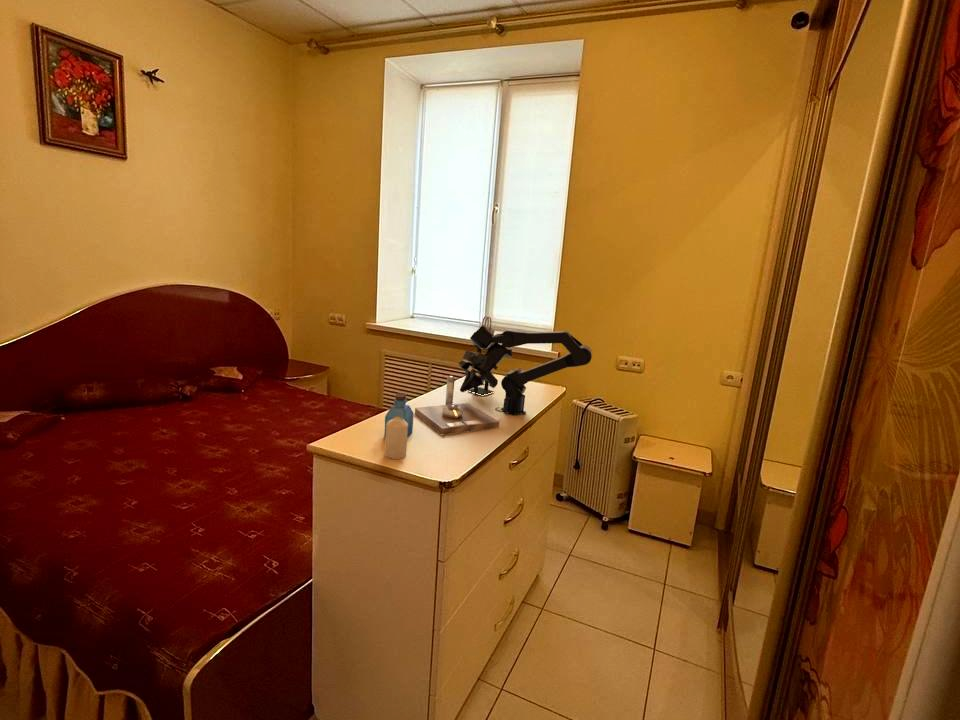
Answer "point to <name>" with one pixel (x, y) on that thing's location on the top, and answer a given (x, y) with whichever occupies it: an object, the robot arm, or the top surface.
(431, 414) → the stand
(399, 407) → the perfume bottle
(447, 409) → the metal post and dome
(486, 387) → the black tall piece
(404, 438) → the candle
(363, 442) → the top surface
